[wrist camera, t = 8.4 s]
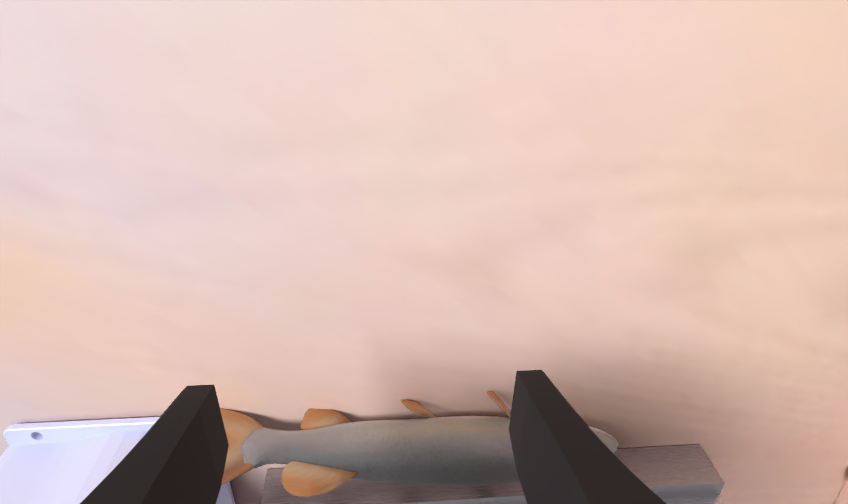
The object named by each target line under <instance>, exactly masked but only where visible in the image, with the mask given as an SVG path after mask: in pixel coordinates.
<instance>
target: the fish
mask: <svg viewBox="0 0 848 504" xmlns="http://www.w3.org/2000/svg"><path fill="white" fill-rule="evenodd" d="M487 394H488V396H489V397H490V398H491V399H493V400H494V402H495V403H496V404H497V405H498V406H499V407H500V408H501V409H502V410H503V411H504V412H505V413H506V414H507V416H508V417H509V418H508V417H494V416H454V417H435V415H434V414H433V413H432V412H431V411H430V410H429V409H427V408H426V407H424V406H423V405H421V404H419V403H417V402H414V401H411V400H401V402H402V403H403V404H404V405H405V406H406V407H407V408H409V409H410V410H411V411H413V412H416V413H420V414H424V415H427V416H429V417H431V418H418V419H404V420H373V421H358V422H350V421H349V420H348V419H347V418H346V417H345V416H344V415H342V414H341V413H339V412H337V411H335V410H326V409H311V408H310V409H308V410H307V412H306V413H305V416H304V417H303V420H302V423H301V425H300V427H301V430H297V431H285V430H276V429H270V428H265V427H264V426H262V425H261V424H260V423H258V422H257V421H256V420H254V419H253V418H251V417H249V416H247V415H244V414H242V413H239V412H236V411H232V410H227V409H220V411H221V415H222V419H223V423H224V427H225V431H226V435H227V439H228V443H229V447H228V452H227V458H226V463H225V469H224V474H223V479H222V484H221V485H223V484H225V483H227V482H229V481H231V480H233V479H235V478H236V477H238V476H240V475H242V474H244V473H246V472H248V471H250V470H251V469H252V468H257V467H259V466H262V465H265V464H273V463H276V464H287V465H286V466H285V468H284V470H283V473H282V484H283V487H284V488H285V489H286V491H287V492H289V493H290V494H292V495H295V496H301V497H308V496H315V495H319V494H323V493H327V492H329V491H331V490H333V489H335V488H337V487H338V486H340V485H341V484H343V483H345V482H346V481H348V480H349V479H351V478H354V479H359V480H367V481H378V482H393V483H419V484H436V485H461V486H484V485H497V484H507V483H512V482H520V480H519V476H518V473H517V470H516V465H515V460H514V455H513V450H512V445H511V439H510V434H509V424H510V417H511V414H510V412H509V410H508V409H507V407H506V406H505V404H504V403H503V402H502V400H501V399H500V398H499V397H498V396H497V395H496V394H495V393H494V392H492V391H488V392H487ZM589 427H590V426H589ZM590 429H591V430H592V431H593V432H594V433H595V434H596V435H597V436H598V437H599V439H600V440H601V441H602V442H603V443H604V444H605V445H606V446H607V447H608V448H609V449H610V450H611V451H612V453H614V452H615V451H616V450H617V447H618V442H617V440H616V439H615V438H614V437H613V436H611V435H610V434H608V433H606V432H604V431H602V430H600V429H597V428H594V427H590Z"/></svg>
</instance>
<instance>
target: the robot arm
mask: <svg viewBox="0 0 848 504" xmlns="http://www.w3.org/2000/svg"><path fill="white" fill-rule="evenodd" d="M509 434H510V439H511V445H512V450H513V455H514V460H515V465H516V470H517V473H518V476H519V480H520V483H521V486H522V489H523V492H524V495H525V499H526V502H527V504H666V503H665V502H664V501H663V500H662V499H661V498H660V497H658V496H657V495H656V494H655V493H654V492H653V491H652V490H651V489H649V488H648V487H647V486H646V485H645V484H644V483H643V482H642V481H641V480H640V479H639V478H638V477H637V476H636V475H635V474H633V473H632V472H631V471H630V470H629V469H628V468H627V467H626V466H625V465H624V464H623V463H622V462H621V461H620V460H619V459H618V458H617V457H616V456H615V455H614V454H613V453H612V451H611V450H610V449H609V448H608V447H607V446H606V445H605V444H604V443H603V442H602V441H601V440H600V439H599V437H598V436H597V435H596V434H595V433H594V432H593V431H592V430H591V429H590V427H589V426H588V425H587V424H586V423H585V422H584V421H583V420H582V418H581V417H580V416H579V415H578V414H577V413H576V411H575V410H574V409H573V408H572V407H571V405H570V404H569V403H568V402H567V401H566V399H565V398H564V397H563V396H562V394H561V393H560V392H559V391H558V389H557V388H556V387H555V386H554V384H553V383H552V382H551V381H550V379H549V378H548V377H547V376H546V374H545V373H544V372H543V371H542V370H531V371H517V373H516V380H515V388H514V395H513V402H512V409H511V417H510V424H509ZM3 436H4V439H5V440H6V442H7V444H8V446H9V447H8V448H7V449H6V450H5V452H4V453H3V455H2V456H1V457H0V504H235V501H234V497H233V493H232V489H231V485H230V481H229V482H227V483H225V484H223V485H221V484H222V479H223V474H224V469H225V463H226V458H227V452H228V447H229V443H228V439H227V435H226V431H225V427H224V423H223V419H222V415H221V411H220V407H219V403H218V399H217V395H216V391H215V387H214V385H197V386H187V387H186V388H185V389H184V390H183V391H182V392H181V393H180V394H179V395H178V397H177V398H176V399H175V400H174V401H173V402H172V404H171V405H170V406H169V407H168V408H167V410H166V411H165V412H164V413H163V414H162V415H161V417H145V418H125V419H104V420H84V421H64V422H44V423H23V424H12V425H10V426H8V427H7V428H6V430H5V431H4V433H3Z"/></svg>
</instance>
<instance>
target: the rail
mask: <svg viewBox="0 0 848 504" xmlns="http://www.w3.org/2000/svg"><path fill="white" fill-rule="evenodd" d="M613 454H614V455H615V456H616V457H617V458H618V459H619V460H620V461H621V462H622V463H623V464H624V465H625V466H626V467H627V468H628V469H629V470H630V471H631V472H632V473H633V474H635V475H636V476H637V477H638V478H639V479H640V480H641V481H642V482H643V483H644V484H645V485H646V486H647V487H648V488H649V489H651V490H652V491H653V492H654V493H655V494H656V495H657V496H658V497H660V498H661V499H662V500H663V501H664V502H665V503H666V504H724V502H723V501H722V499H721V497H720V496H719V494H720V492H721V489H722V487H723V485H724V481H723V480H722V478H721V477H720V475H719V474H718V472H717V470H716V469H715V467H714V466H713V464H712V463H711V461H710V460H709V458H708V457H707V455H706V454H705V452H704V450H703V449H702V447H701V446H700V444H694V445H677V446H660V447H642V448H625V449H617V450H616V451H615V452H614V453H613ZM283 470H284V468H277V469H268V470H267V475H266V479H265V484H264V489H263V494H262V499H261V504H527V502H526V499H525V495H524V492H523V489H522V486H521V483H520V482H512V483H507V484H497V485H484V486H461V485H436V484H419V483H393V482H378V481H367V480H359V479H354V478H351V479H349V480H348V481H346V482H345V483H343V484H341V485H340V486H338V487H337V488H335V489H333V490H331V491H329V492H327V493H323V494H319V495H315V496H308V497H301V496H295V495H292V494H290V493H289V492H287V491H286V489H285V488H284V487H283V484H282V473H283Z"/></svg>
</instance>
